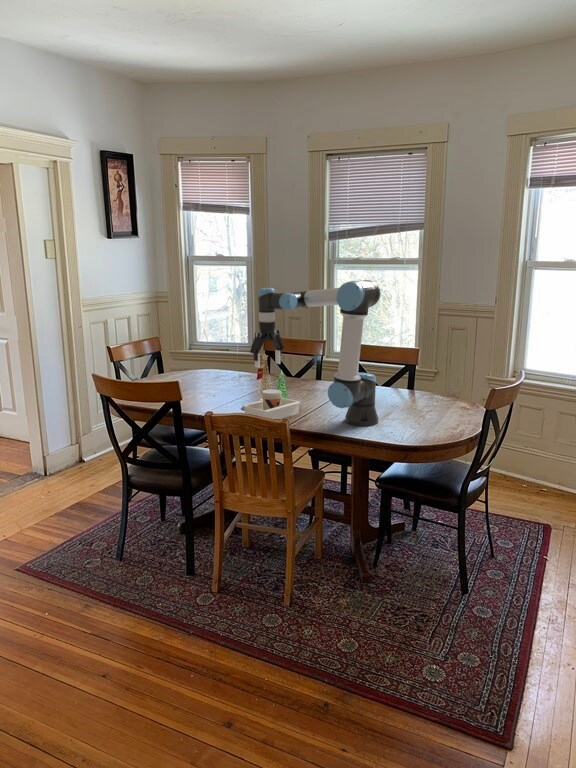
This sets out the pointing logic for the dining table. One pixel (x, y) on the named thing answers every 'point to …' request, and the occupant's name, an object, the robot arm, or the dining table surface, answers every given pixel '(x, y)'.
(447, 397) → the dining table surface
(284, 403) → the white rectangular tray
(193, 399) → the dining table surface
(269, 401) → the coffee cup
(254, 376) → the dining table surface
